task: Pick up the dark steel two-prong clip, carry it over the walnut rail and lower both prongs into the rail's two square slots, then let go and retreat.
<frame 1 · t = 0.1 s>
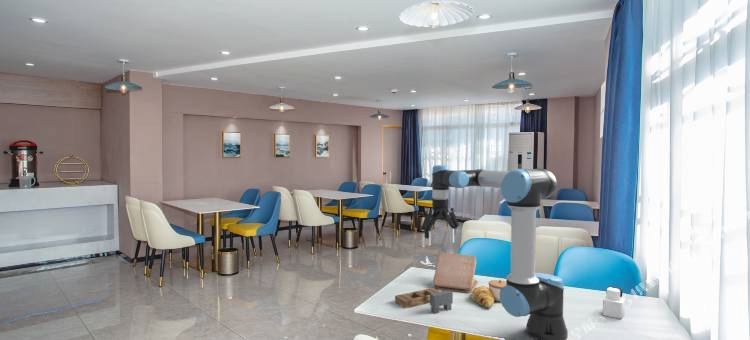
hand: (440, 243, 205), 28 cm above the table, fingers open, 13 cm apart
clip: (441, 310, 195), on the table
croissant: (482, 302, 206), on the table, touching lidded jar
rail: (419, 300, 208), on the table
medicine bottle: (613, 315, 189), on the table
lidded jar: (499, 299, 209), on the table, touching croissant
case: (456, 286, 231), on the table
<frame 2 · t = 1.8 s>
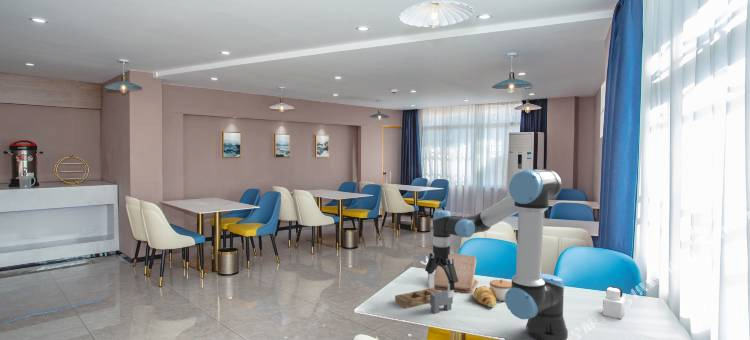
hand: (440, 292, 195), 8 cm above the table, fingers open, 13 cm apart
lidded jar: (500, 299, 210), on the table, touching croissant
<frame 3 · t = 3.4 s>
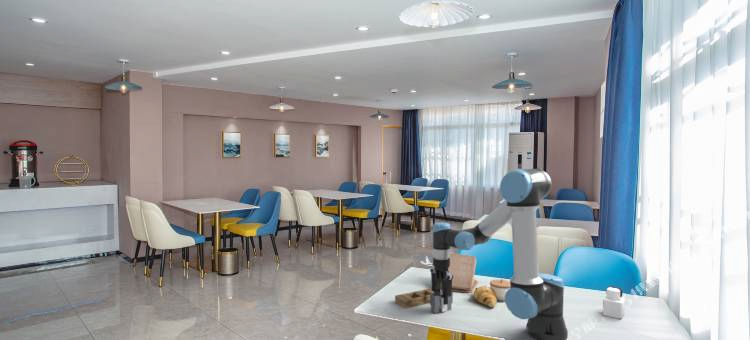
hand: (441, 309, 195), 1 cm above the table, fingers closed on clip, 3 cm apart
clip: (441, 310, 195), on the table, touching gripper
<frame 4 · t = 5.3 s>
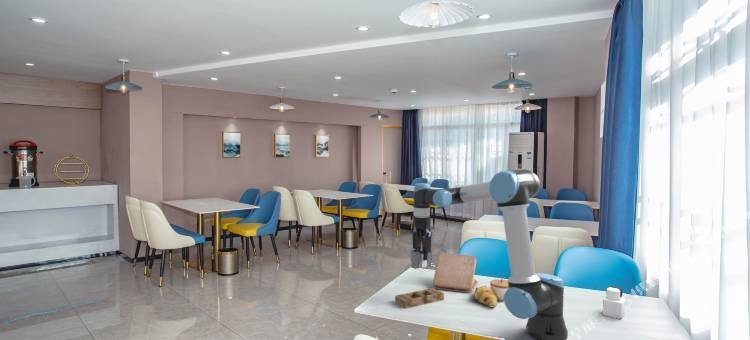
hand: (421, 265, 206), 17 cm above the table, fingers closed on clip, 3 cm apart
clip: (421, 266, 206), point 17 cm above the table, touching gripper
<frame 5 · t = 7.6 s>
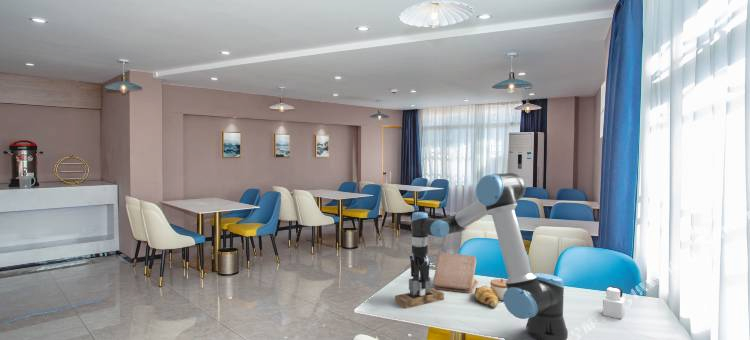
hand: (419, 293, 208), 3 cm above the table, fingers closed on clip, 3 cm apart
clip: (419, 294, 208), point 3 cm above the table, touching gripper
when the fingers open (3 cm above the table, at t = 7.6 s): clip drops 3 cm, resting on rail.
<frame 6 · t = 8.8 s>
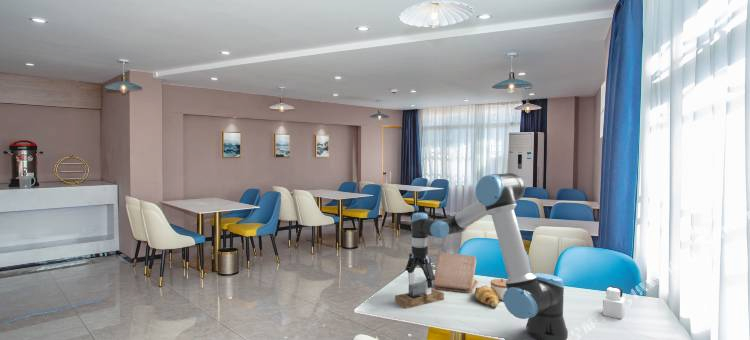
hand: (419, 290, 207), 5 cm above the table, fingers open, 13 cm apart
clip: (419, 300, 208), resting on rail
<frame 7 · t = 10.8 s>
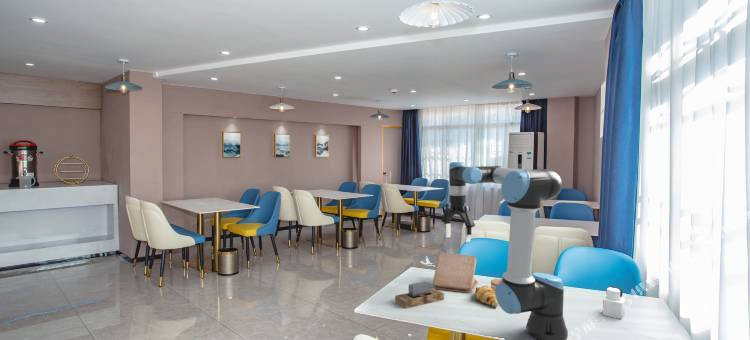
hand: (457, 239, 207), 29 cm above the table, fingers open, 13 cm apart
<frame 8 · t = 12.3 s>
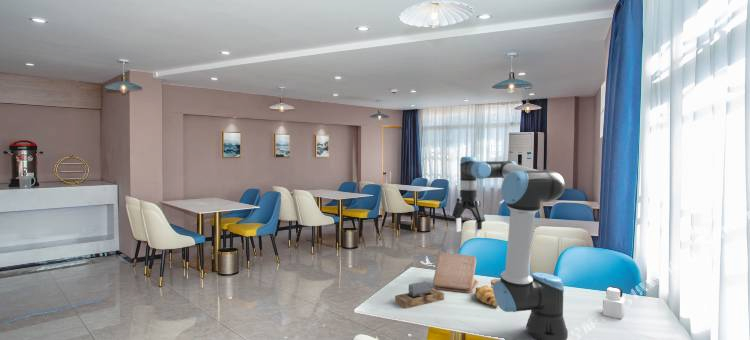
hand: (468, 233, 208), 32 cm above the table, fingers open, 13 cm apart
at the end: clip 0.2 cm off-centre on the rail, point 0.2 cm above the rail's base; the gripper is holding nothing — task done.
